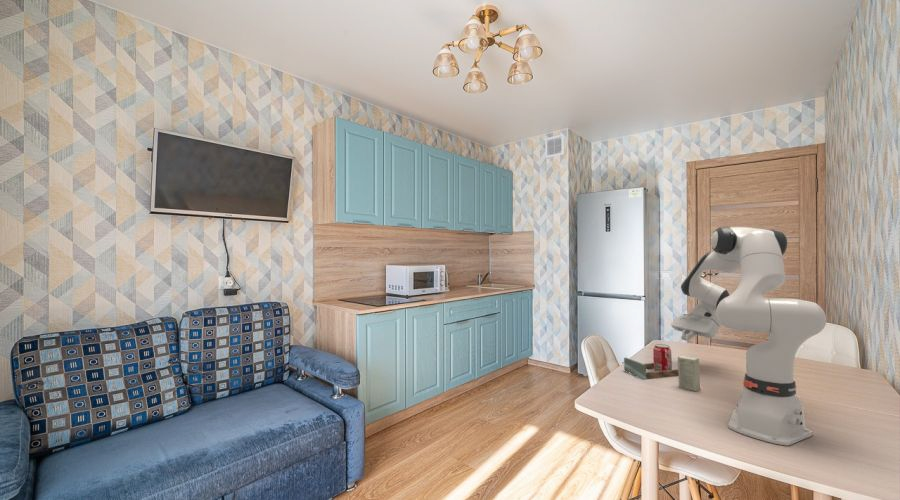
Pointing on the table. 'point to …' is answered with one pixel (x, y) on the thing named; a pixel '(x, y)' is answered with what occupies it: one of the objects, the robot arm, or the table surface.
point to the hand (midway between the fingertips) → (684, 339)
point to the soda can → (662, 357)
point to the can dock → (641, 368)
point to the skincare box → (689, 373)
